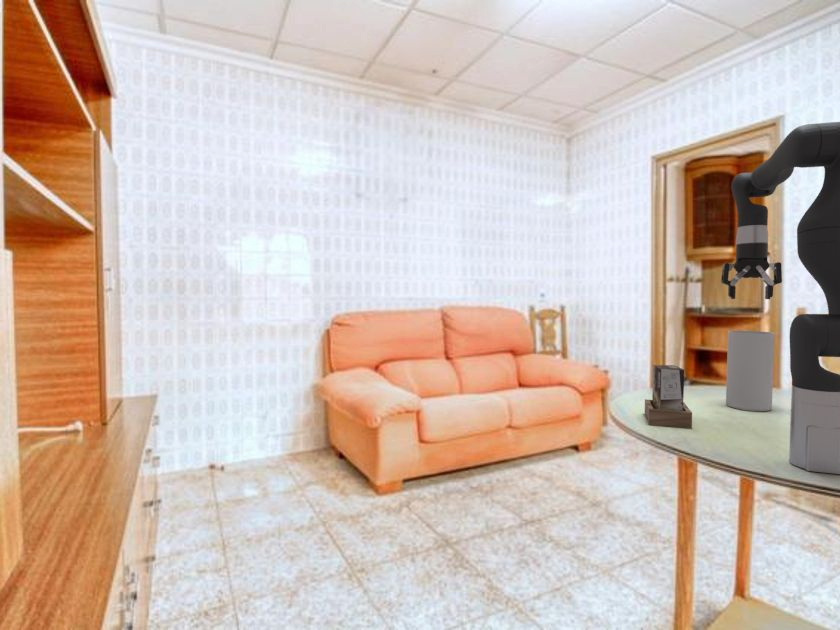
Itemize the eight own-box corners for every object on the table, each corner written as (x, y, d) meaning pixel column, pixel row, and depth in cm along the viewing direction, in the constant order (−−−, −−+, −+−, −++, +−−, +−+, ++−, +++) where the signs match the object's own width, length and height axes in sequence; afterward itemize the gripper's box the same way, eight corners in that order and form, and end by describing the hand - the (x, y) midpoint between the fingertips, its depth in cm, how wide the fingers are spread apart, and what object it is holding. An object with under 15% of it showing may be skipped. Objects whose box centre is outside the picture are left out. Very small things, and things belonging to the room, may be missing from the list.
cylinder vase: (726, 409, 155) (728, 332, 154) (725, 401, 166) (727, 330, 165) (774, 414, 149) (776, 334, 147) (769, 405, 159) (771, 331, 158)
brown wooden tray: (691, 428, 132) (692, 412, 132) (648, 424, 136) (649, 409, 136) (683, 416, 145) (683, 402, 145) (644, 413, 149) (644, 399, 149)
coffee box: (683, 425, 135) (685, 369, 135) (659, 424, 137) (660, 368, 136) (674, 417, 144) (675, 364, 144) (651, 416, 146) (652, 364, 145)
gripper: (726, 242, 135) (724, 299, 136) (786, 240, 130) (784, 299, 131) (720, 244, 142) (718, 298, 143) (777, 243, 137) (775, 299, 138)
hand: (750, 299), depth 137 cm, fingers open, 8 cm apart
